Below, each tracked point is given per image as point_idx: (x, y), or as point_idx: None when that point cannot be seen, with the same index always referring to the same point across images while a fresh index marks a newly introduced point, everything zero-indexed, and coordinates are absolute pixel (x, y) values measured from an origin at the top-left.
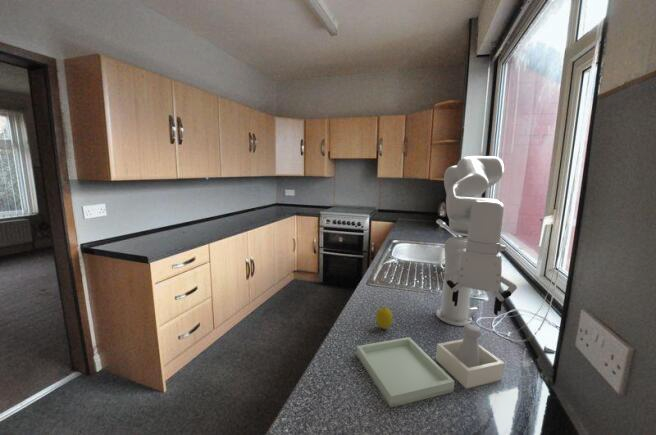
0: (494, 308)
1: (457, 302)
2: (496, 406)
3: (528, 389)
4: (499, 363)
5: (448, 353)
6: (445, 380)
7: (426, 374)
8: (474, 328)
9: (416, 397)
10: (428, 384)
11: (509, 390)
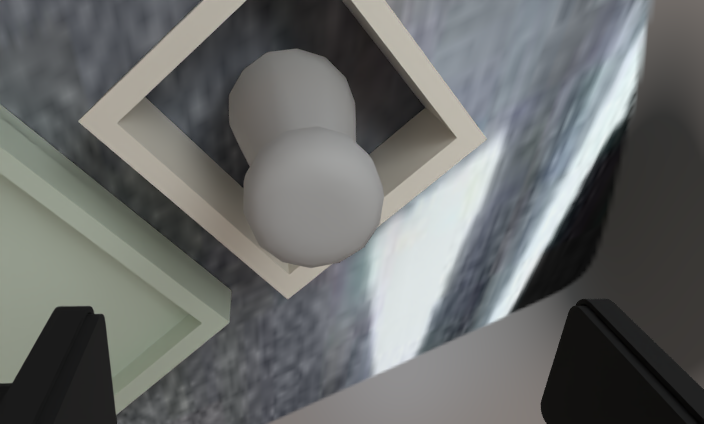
0: (581, 401)
1: (103, 345)
2: (390, 286)
3: (548, 125)
4: (457, 157)
5: (171, 197)
6: (189, 337)
7: (95, 273)
8: (332, 238)
9: None
10: (123, 391)
11: (463, 171)
